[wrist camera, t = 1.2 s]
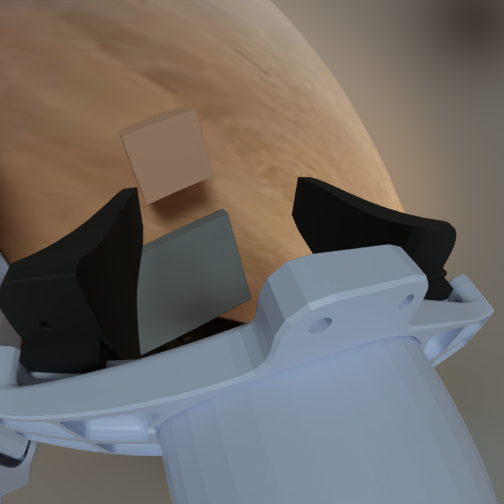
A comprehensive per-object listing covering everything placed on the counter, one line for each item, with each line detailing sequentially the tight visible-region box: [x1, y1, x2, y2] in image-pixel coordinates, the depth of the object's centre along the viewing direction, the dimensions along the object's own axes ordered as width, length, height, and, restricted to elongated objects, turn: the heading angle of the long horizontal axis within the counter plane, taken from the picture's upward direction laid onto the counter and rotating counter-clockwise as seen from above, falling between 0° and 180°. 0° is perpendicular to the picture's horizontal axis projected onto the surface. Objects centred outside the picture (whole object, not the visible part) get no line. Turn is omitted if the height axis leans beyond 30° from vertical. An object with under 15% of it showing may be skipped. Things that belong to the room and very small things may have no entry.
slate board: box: [137, 209, 251, 355], centre depth 27 cm, size 18×12×1 cm, turn 101°
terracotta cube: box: [119, 108, 213, 205], centre depth 18 cm, size 5×5×5 cm
